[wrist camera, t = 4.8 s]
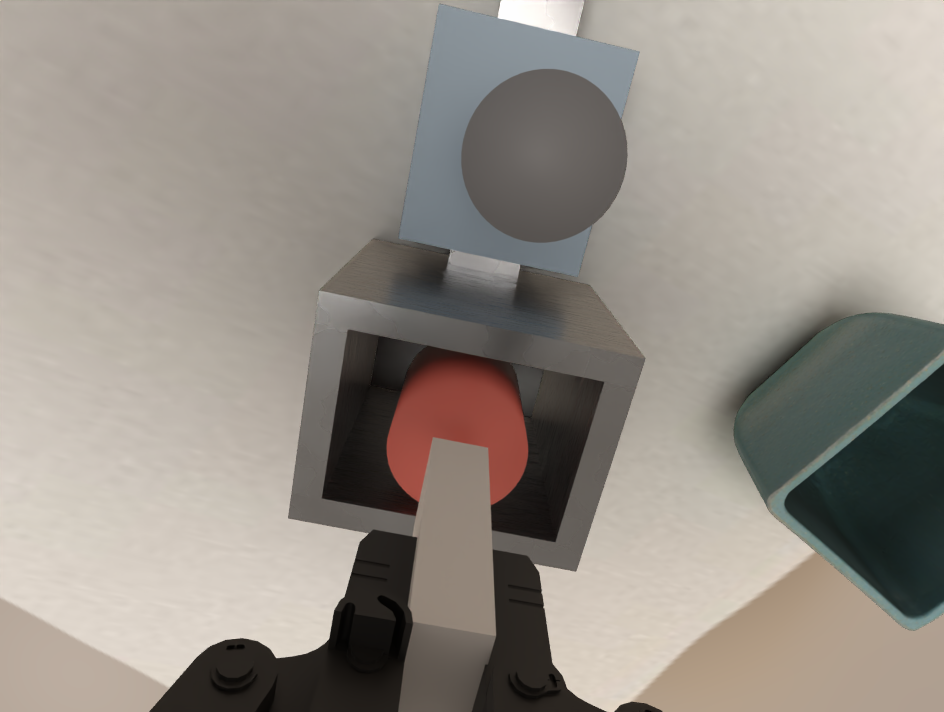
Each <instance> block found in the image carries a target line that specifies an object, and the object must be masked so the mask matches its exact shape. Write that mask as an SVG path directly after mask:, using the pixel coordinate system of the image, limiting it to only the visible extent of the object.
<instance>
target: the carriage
mask: <svg viewBox="0 0 944 712" xmlns="http://www.w3.org/2000/svg"><path fill="white" fill-rule="evenodd" d="M639 53H640V52H639V51H635V50H631V49H627V48H622V47H618V46H614V45H610V44H606V43H602V42H597V41H593V40H589V39H585V38H581V37H576V36H572V35H568V34H564V33H560V32H556V31H551V30H547V29H543V28H539V27H535V26H531V25H526V24H522V23H518V22H514V21H510V20H505V19H501V18H497V17H493V16H489V15H485V14H480V13H476V12H472V11H468V10H464V9H460V8H455V7H451V6H447V5H443V4H439V6H438V12H437V18H436V24H435V30H434V35H433V41H432V47H431V53H430V58H429V64H428V70H427V76H426V81H425V87H424V93H423V99H422V104H421V110H420V116H419V122H418V127H417V133H416V139H415V145H414V150H413V156H412V162H411V168H410V173H409V179H408V185H407V191H406V197H405V202H404V208H403V214H402V220H401V225H400V231H399V237H398V238H399V239H403V240H408V241H413V242H417V243H422V244H427V245H431V246H436V247H441V248H445V249H450V250H455V251H459V252H464V253H469V254H473V255H478V256H483V257H487V258H492V259H497V260H501V261H506V262H510V263H515V264H520V265H524V266H529V267H534V268H538V269H543V270H548V271H552V272H557V273H562V274H566V275H571V276H576V277H578V275H579V271H580V268H581V264H582V260H583V257H584V253H585V249H586V246H587V242H588V239H589V235H590V231H591V228H592V225H593V224H594V223H595V222H596V221H597V220H598V219H599V218H601V217H602V215H603V214H604V213H605V212H606V211H607V210H608V208H609V207H610V206H611V204H612V202H613V201H614V199H615V198H616V196H617V194H618V192H619V190H620V187H621V184H622V182H623V179H624V175H625V170H626V165H627V141H626V135H625V130H624V127H623V124H622V121H621V118H622V115H623V111H624V107H625V104H626V100H627V96H628V93H629V89H630V85H631V82H632V78H633V75H634V71H635V67H636V64H637V60H638V56H639Z"/></svg>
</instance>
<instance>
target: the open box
mask: <svg viewBox="0 0 944 712" xmlns="http://www.w3.org/2000/svg"><path fill="white" fill-rule="evenodd" d="M448 260H449V255H447V254H442V253H437V252H433V251H428V250H423V249H419V248H414V247H409V246H405V245H400V244H395V243H391V242H386V241H381V240H377V239H372V240H371V241H370V242H369V243H368V244H367V245H366V246H365V247H364V248H363V249H362V250H360V251H359V252H358V253H357V254H356V255H355V256H354V257H353V258H352V259H351V260H350V261H349V262H348V263H347V264H346V265H345V266H344V267H343V268H342V269H341V270H340V271H339V272H338V273H337V274H336V275H335V276H334V277H332V278H331V279H330V280H329V281H328V282H327V283H326V284H325V285H324V286H323V287H322V288H321V289H320V290H319V294H318V301H317V309H316V316H315V324H314V331H313V338H312V346H311V353H310V361H309V368H308V375H307V383H306V390H305V397H304V405H303V412H302V420H301V427H300V434H299V442H298V449H297V456H296V464H295V471H294V479H293V486H292V493H291V501H290V508H289V516H288V518H289V519H295V520H300V521H305V522H311V523H316V524H322V525H327V526H332V527H338V528H343V529H349V530H354V531H359V532H365V533H370V532H371V531H372V530H373V529H374V530H380V531H385V532H391V533H396V534H402V535H407V536H413V530H414V523H415V518H416V514H417V509H418V504H419V502H418V501H417V500H415V499H414V498H412V497H411V496H410V495H409V494H407V493H406V492H405V491H404V490H403V489H402V487H401V486H400V485H399V484H398V482H397V481H396V479H395V478H394V476H393V474H392V472H391V469H390V466H389V463H388V458H387V438H388V434H389V430H390V427H391V424H392V420H393V417H394V414H395V410H396V407H397V404H398V400H399V397H400V394H401V392H400V391H395V390H390V389H385V388H380V387H375V386H370V385H371V379H372V373H373V368H374V362H375V356H376V350H377V344H378V339H379V336H383V337H388V338H393V339H398V340H403V341H408V342H413V343H418V344H422V345H427V346H432V347H437V348H442V349H447V350H452V351H457V352H461V353H466V354H471V355H476V356H481V357H486V358H491V359H496V360H501V361H505V362H510V363H515V364H520V365H525V366H530V367H535V368H540V369H544V373H543V376H542V380H541V384H540V388H539V391H538V395H537V399H536V402H535V406H534V410H533V414H532V417H525V416H523V417H524V423H525V429H526V435H527V441H528V459H527V464H526V467H525V470H524V473H523V475H522V477H521V479H520V480H519V482H518V483H517V485H516V486H515V487H514V488H513V489H512V491H511V492H510V493H509V494H507V495H506V496H505V497H504V498H503V499H501V500H499V501H498V502H496V503H495V504H493V505H491V527H492V549H493V550H499V551H504V552H510V553H515V554H521V555H526V556H528V557H529V558H530V560H531V561H532V563H533V564H538V565H543V566H549V567H554V568H560V569H565V570H570V571H577V567H578V564H579V561H580V558H581V555H582V552H583V549H584V546H585V543H586V540H587V537H588V534H589V531H590V528H591V524H592V521H593V518H594V515H595V512H596V509H597V506H598V503H599V500H600V497H601V494H602V491H603V488H604V484H605V481H606V478H607V475H608V472H609V469H610V466H611V463H612V460H613V457H614V454H615V451H616V448H617V444H618V441H619V438H620V435H621V432H622V429H623V426H624V423H625V420H626V417H627V414H628V411H629V408H630V405H631V401H632V398H633V395H634V392H635V389H636V386H637V383H638V380H639V377H640V374H641V371H642V368H643V365H644V361H645V357H644V356H643V355H642V353H641V352H640V351H639V349H638V348H637V347H636V345H635V344H634V343H633V341H632V340H631V339H630V337H629V336H628V335H627V334H626V332H625V331H624V330H623V328H622V327H621V326H620V324H619V323H618V322H617V320H616V319H615V318H614V316H613V315H612V314H611V313H610V311H609V310H608V309H607V307H606V306H605V305H604V303H603V302H602V301H601V299H600V298H599V297H598V295H597V294H596V293H595V292H594V290H593V289H592V288H591V286H590V285H587V284H582V283H577V282H573V281H568V280H563V279H559V278H554V277H549V276H545V275H540V274H535V273H531V272H526V271H521V270H519V274H518V278H513V277H508V276H503V275H499V274H494V273H489V272H485V271H480V270H475V269H471V268H466V267H461V266H457V265H452V264H448Z"/></svg>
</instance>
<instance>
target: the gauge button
mask: <svg viewBox="0 0 944 712" xmlns="http://www.w3.org/2000/svg"><path fill="white" fill-rule="evenodd" d="M433 437H435V438H440V439H445V440H451V441H456V442H461V443H466V444H471V445H477V446H482V447H487V448H488V456H489V480H490V503H491V505H493V504H495V503H496V502H498V501H499V500H501V499H503V498H504V497H505V496H506V495H507V494H509V493H510V492H511V491H512V489H513V488H514V487H515V486H516V485H517V483H518V482H519V480H520V479H521V477H522V475H523V473H524V470H525V467H526V464H527V459H528V441H527V435H526V429H525V423H524V417H523V410H522V404H521V398H520V392H519V386H518V380H517V376H516V373H515V370H514V368H513V366H512V364H511V363H510V362H505V361H501V360H496V359H491V358H486V357H481V356H476V355H471V354H466V353H461V352H457V351H452V350H447V349H442V348H437V347H432V346H427V347H425V348H424V349H423V350H422V351H421V352H419V353H418V354H417V356H416V357H415V358H414V359H413V361H412V363H411V364H410V366H409V369H408V371H407V374H406V377H405V380H404V384H403V387H402V390H401V394H400V397H399V400H398V404H397V407H396V410H395V414H394V417H393V420H392V424H391V427H390V430H389V434H388V438H387V458H388V463H389V466H390V469H391V472H392V474H393V476H394V478H395V479H396V481H397V482H398V484H399V485H400V486H401V487H402V489H403V490H404V491H405V492H406V493H407V494H409V495H410V496H411V497H412V498H414V499H415V500H417V501H418V502H419V500H420V495H421V490H422V486H423V481H424V476H425V472H426V467H427V463H428V458H429V453H430V449H431V444H432V439H433Z"/></svg>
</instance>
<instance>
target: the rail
mask: <svg viewBox="0 0 944 712" xmlns="http://www.w3.org/2000/svg"><path fill="white" fill-rule="evenodd" d="M584 2H585V0H501V3H500V8H499V13H498V18H501V19H505V20H510V21H514V22H518V23H522V24H526V25H531V26H535V27H539V28H543V29H547V30H551V31H556V32H560V33H564V34H568V35H572V36H576V35H577V30H578V26H579V22H580V18H581V14H582V10H583V6H584ZM448 264H452V265H457V266H461V267H466V268H471V269H475V270H480V271H485V272H489V273H494V274H499V275H503V276H508V277H513V278H518V274H519V270H520V266H521V265H520V264H515V263H510V262H506V261H501V260H497V259H492V258H487V257H483V256H478V255H473V254H469V253H464V252H459V251H455V250H450V255H449V260H448Z"/></svg>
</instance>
